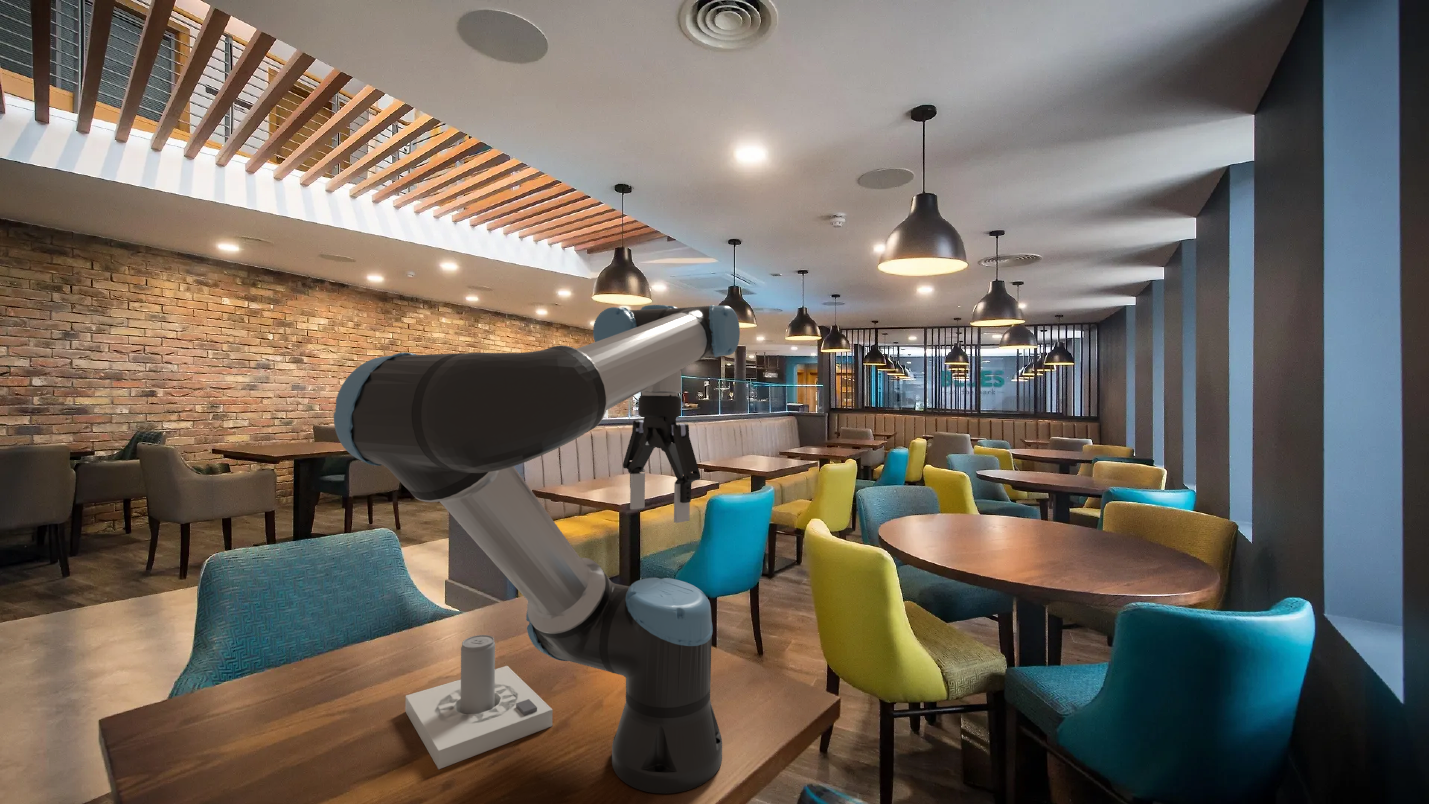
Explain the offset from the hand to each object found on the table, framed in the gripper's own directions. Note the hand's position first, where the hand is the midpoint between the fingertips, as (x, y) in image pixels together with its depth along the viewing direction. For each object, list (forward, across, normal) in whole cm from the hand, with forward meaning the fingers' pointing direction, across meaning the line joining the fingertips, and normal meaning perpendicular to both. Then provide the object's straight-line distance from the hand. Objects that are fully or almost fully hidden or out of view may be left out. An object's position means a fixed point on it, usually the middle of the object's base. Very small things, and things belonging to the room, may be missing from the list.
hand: (658, 514), depth 103 cm
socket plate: (+29, +6, +29) cm, 41 cm away
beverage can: (+29, +6, +29) cm, 41 cm away
